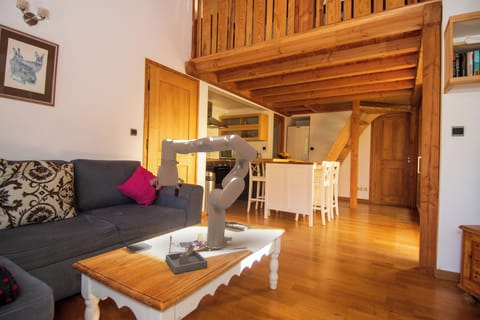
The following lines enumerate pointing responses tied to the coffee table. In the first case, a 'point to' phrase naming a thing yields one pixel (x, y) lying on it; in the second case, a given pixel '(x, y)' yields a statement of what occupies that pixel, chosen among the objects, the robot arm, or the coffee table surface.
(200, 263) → the tray
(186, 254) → the lighter
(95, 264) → the coffee table surface
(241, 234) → the coffee table surface
